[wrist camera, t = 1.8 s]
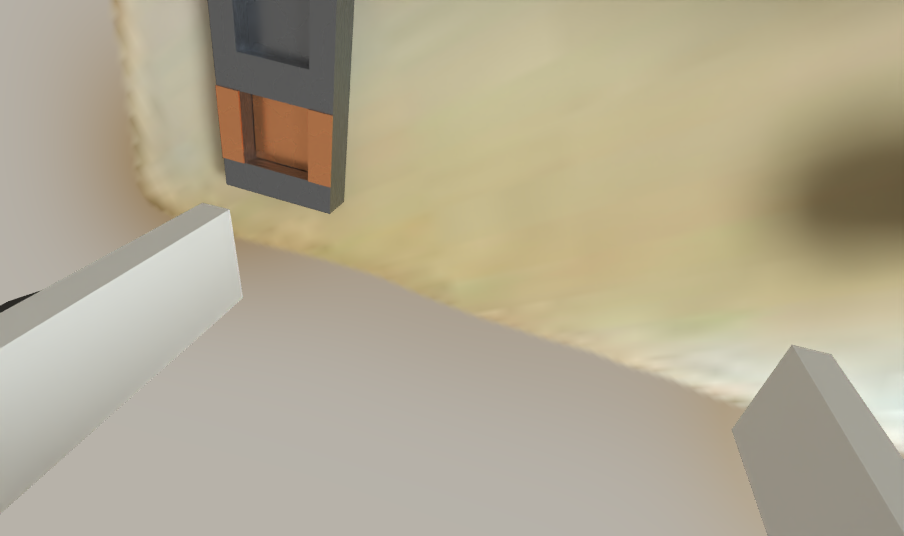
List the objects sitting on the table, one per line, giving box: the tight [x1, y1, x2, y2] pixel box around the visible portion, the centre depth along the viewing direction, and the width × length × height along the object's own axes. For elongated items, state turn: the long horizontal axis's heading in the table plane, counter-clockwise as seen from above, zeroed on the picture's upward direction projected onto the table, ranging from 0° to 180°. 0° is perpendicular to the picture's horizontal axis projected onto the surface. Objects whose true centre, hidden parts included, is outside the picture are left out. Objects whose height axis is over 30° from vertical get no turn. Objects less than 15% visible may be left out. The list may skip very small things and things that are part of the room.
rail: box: [208, 0, 354, 214], centre depth 30 cm, size 26×9×3 cm, turn 170°
